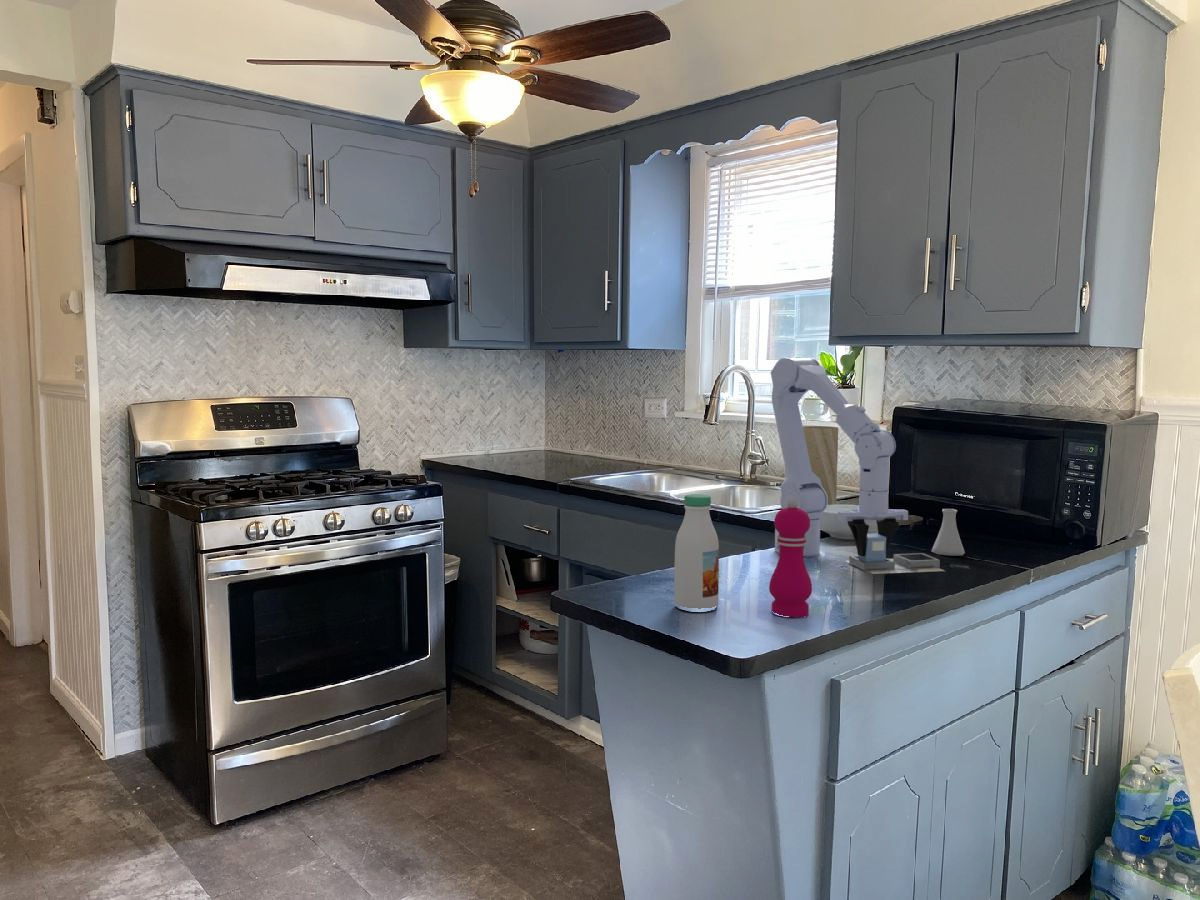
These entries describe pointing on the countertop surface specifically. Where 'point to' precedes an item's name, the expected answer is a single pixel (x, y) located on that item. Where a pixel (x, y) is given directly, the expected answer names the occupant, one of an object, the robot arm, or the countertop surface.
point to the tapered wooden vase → (823, 456)
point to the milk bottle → (696, 556)
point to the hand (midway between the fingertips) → (871, 555)
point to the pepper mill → (791, 563)
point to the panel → (899, 564)
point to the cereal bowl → (839, 528)
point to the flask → (948, 536)
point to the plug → (874, 548)
